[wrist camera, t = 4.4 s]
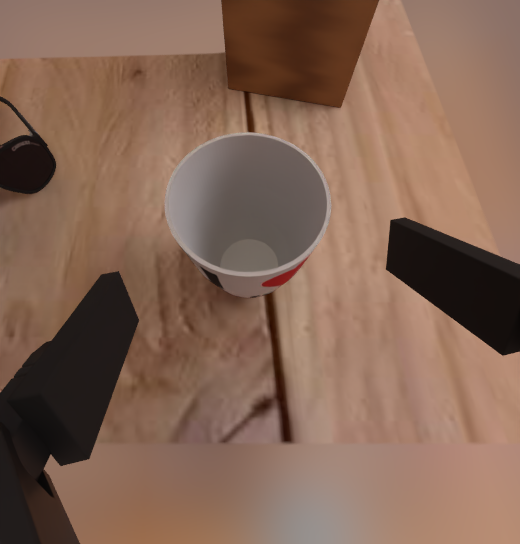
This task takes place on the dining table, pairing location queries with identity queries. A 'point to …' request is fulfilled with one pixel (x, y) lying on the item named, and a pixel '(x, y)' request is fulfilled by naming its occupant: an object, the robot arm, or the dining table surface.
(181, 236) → the cup
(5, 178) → the sunglasses
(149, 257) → the dining table surface
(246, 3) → the stand
